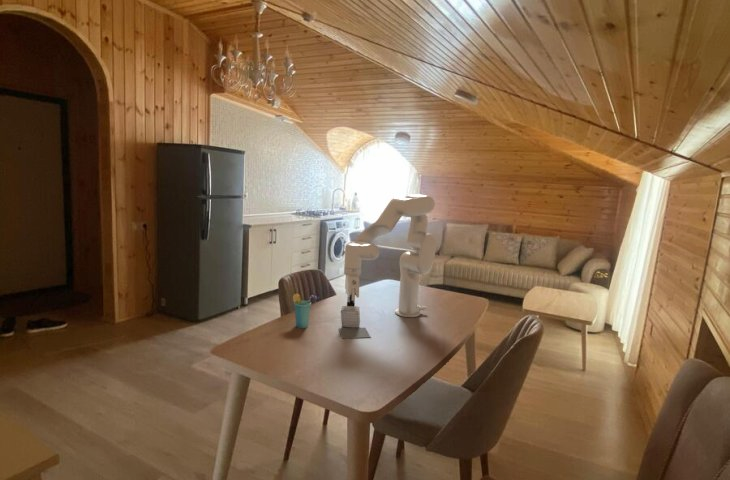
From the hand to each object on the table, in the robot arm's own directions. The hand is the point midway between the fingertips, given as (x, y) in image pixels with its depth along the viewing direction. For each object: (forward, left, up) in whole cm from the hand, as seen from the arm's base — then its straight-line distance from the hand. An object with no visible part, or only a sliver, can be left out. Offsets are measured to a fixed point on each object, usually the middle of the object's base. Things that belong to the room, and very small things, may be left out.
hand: (350, 310), depth 178 cm
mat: (0, +10, -7) cm, 12 cm away
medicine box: (0, +2, -6) cm, 7 cm away
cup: (+21, 0, -7) cm, 22 cm away
